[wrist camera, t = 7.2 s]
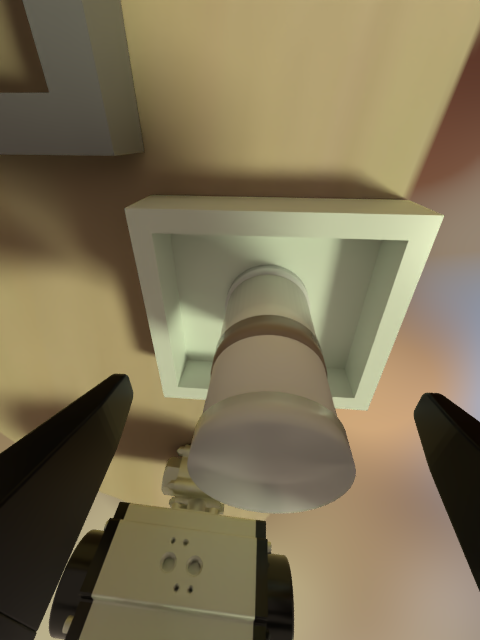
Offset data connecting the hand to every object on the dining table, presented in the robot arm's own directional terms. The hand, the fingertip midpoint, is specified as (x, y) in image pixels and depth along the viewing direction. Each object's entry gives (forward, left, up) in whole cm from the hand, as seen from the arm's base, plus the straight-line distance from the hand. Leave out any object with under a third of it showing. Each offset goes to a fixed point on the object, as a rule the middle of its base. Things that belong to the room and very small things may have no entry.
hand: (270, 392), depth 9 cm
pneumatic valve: (-4, -14, -6) cm, 16 cm away
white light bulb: (0, 0, -5) cm, 5 cm away
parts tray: (0, 0, -6) cm, 6 cm away
